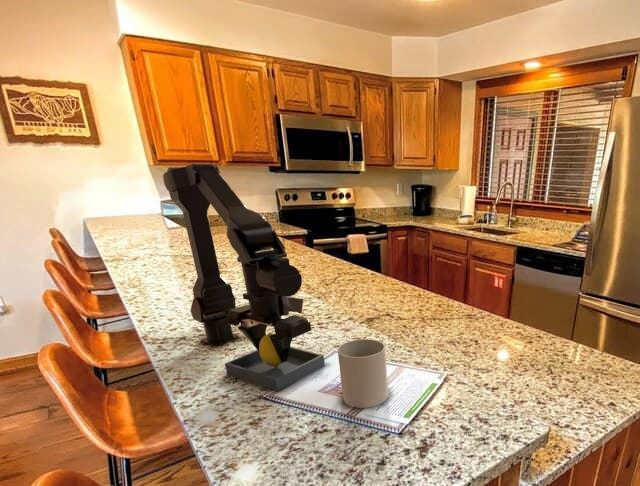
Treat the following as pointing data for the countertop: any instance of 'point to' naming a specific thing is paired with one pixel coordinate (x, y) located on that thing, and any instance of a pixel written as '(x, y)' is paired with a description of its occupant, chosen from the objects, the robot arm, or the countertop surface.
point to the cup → (363, 372)
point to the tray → (272, 377)
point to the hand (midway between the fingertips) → (274, 358)
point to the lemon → (269, 351)
